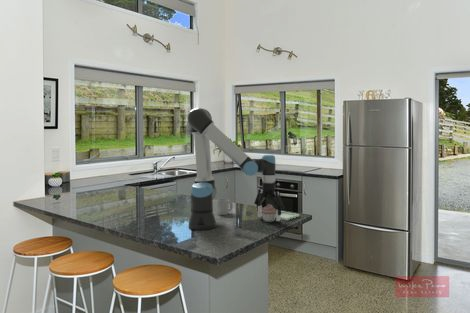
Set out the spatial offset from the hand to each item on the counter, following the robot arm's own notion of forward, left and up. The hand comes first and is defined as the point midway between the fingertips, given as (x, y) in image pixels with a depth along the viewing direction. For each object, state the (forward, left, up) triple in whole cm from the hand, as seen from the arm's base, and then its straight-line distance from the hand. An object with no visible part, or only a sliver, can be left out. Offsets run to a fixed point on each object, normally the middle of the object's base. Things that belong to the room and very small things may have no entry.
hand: (268, 218), depth 225 cm
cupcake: (0, 0, -2) cm, 2 cm away
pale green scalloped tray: (+13, -1, -1) cm, 13 cm away
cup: (-4, +32, -2) cm, 32 cm away
